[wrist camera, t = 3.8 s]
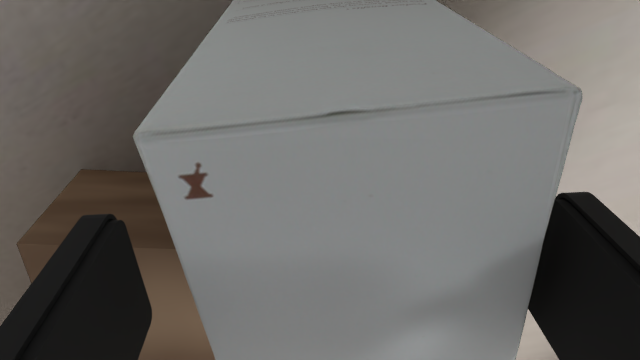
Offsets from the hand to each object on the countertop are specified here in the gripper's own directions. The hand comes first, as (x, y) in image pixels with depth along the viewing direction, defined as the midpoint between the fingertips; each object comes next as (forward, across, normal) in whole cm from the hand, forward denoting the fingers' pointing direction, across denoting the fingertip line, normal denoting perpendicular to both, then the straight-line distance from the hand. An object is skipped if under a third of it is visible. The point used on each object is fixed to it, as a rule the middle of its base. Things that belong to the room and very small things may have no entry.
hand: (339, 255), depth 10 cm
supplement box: (+12, 0, -1) cm, 12 cm away
